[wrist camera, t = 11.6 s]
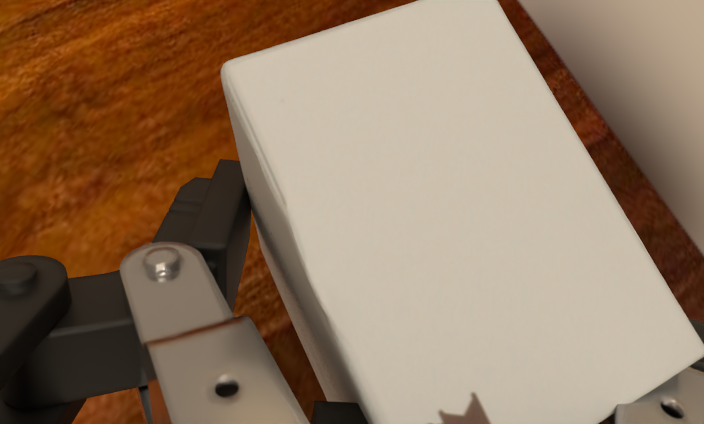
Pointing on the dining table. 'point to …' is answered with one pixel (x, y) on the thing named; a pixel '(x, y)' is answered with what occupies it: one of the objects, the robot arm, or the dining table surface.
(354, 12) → the dining table surface
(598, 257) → the cosmetic box
